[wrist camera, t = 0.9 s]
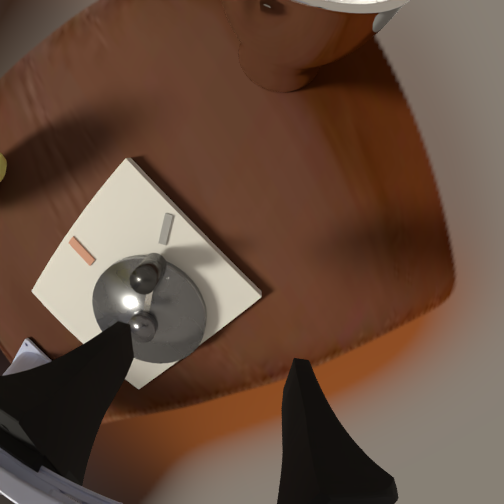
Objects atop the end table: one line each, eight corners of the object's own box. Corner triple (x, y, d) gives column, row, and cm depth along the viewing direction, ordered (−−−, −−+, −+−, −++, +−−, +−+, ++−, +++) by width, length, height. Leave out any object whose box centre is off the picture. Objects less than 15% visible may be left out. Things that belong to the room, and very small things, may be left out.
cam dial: (193, 369, 26) (186, 400, 23) (94, 336, 25) (76, 362, 21) (223, 267, 23) (218, 293, 19) (103, 230, 22) (78, 247, 18)
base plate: (141, 383, 29) (138, 390, 28) (36, 287, 25) (30, 292, 24) (261, 291, 25) (262, 297, 24) (130, 157, 21) (124, 158, 20)
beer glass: (323, 103, 20) (439, 48, 6) (228, 94, 20) (192, 5, 6) (327, 24, 18) (412, -87, 4) (236, 14, 18) (221, -122, 3)
